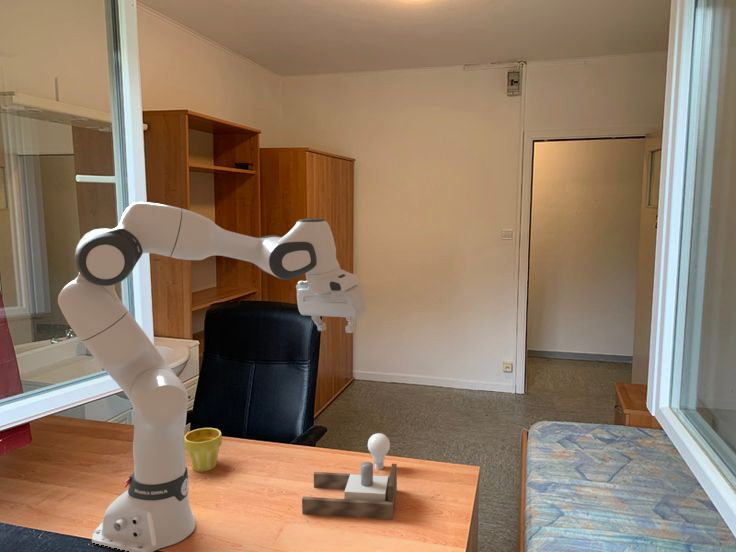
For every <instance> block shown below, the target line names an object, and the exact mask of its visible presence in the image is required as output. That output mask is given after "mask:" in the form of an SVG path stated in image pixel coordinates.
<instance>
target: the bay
mask: <svg viewBox="0 0 736 552" xmlns="http://www.w3.org/2000/svg"><path fill="white" fill-rule="evenodd" d="M397 466H398V465H397V463H391V468H390V472H389V473H390V474H389V475H387V476H388V500H387V502H386V501H369V500H353V499H345V498H335V497H333V498H332V497H316V496H315V497H314V496H302V498H301V504H302V505H301V507H302V508H301V510H302V511H301V512H302V515H313V516H325V517H326V516H327V517H341V518H358V519H359V518H360V519H361V518H362V519H373V520H374V519H375V520H376V519H377V520H378V519H379V520H391V521H392V520H393V519H394V514H395V513H394V512H395V506H396V499H397V491H398V476H397V469H398V468H397ZM350 474H351V473H346V472H345V473H343V472H342V473H341V472H325V471H314V472H313V488H314V489H315V488H316V489H331V490H332V489H333V490H345V488H346V485H347V482H348V479H349V476H350ZM358 474H359V475H361V473H358ZM377 475H378V474H377ZM378 476H384V475H380V474H379V475H378Z"/></svg>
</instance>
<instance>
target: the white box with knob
mask: <svg viewBox="0 0 736 552" xmlns="http://www.w3.org/2000/svg"><path fill="white" fill-rule="evenodd" d="M349 474H350V476H349V479H348V482H347V485H346V488H345V489H344V499H353V500H369V501H386V502H388V476H389V475H383V476H378V474H374V463H372V462H370V461H364V462H362V463H360V473H349ZM359 474H361V475H359Z"/></svg>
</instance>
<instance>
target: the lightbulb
mask: <svg viewBox="0 0 736 552" xmlns="http://www.w3.org/2000/svg"><path fill="white" fill-rule="evenodd" d="M390 447H391V442H390V439H389V438H388V436H386V434H384V433H380V432H378V433H374V434H372V435H371V436H370V437H369V438H368V441H367V449H368V452H369V453H370V454H371V456H372V461H373V470H377V471H380V470H383V469H384V461H385V457H386V455H388V452H389V451H390V449H391V448H390Z"/></svg>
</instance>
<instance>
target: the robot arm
mask: <svg viewBox="0 0 736 552" xmlns="http://www.w3.org/2000/svg"><path fill="white" fill-rule="evenodd" d="M334 239H335V238H334V235H333V232H332V229H331V227H330V224H329V222H328V221H326V220H324V219H322V218H318V217H317V218H313V217H312V218H311V217H310V218H301V219H299V220H297V221H296V222H295V225H294V226H293V227H292V228H291V229H290V230H289V231H288V232H287V233H286V234H284V235H283V236H280V235H275V234H271V235H265V236H258V237H256V236H250V235H246V234H242V233H238V232H234V231H230V230H228V229H227V230H226V229H224V228H222V227H221V226H219V225H218V224H216V223H215V222H214V221H213V220H211V218H208V217H206V216H203V215H202V214H199V213H197V212H194V211H191V210H188V209H185V208H181V207H177V206H172V205H167V204H161V203H156V202H143V201H137V202H132V203H131V204H130V205H129V206H127V207H126V208H125V210H124V212H123V213H122V216H121V219H120V221H119V223H118V224H117V226H116V227H115V228H109V227H98V228H94V229H91V230H90V231H88V232H86V233H84V235H83V236H81V238H80V239H79V240H78V243H77V244H76V247H75V250H74V259H75V266H76V269H77V272H78V275H77V276H76V277H75V278H74V279H73V280H71V281H70V282H68V283H67V284H66V285H65V286H64V287H63V288H62V289H61V291H60V292H59V294H58V297H57V305H58V306H59V309H60V311H61V313H62V314H63V316H64V318H65V321H66V322H67V324H68V325H69V327H70V328H71V330H72V331H73V333H74V334H75V335H76V336H77V338H78V339H79V341H80V342H81V343H82V344H83V346H84V347H85V348H86V349H87V350H88V352H89V353H90V354H91V355H92V357H93V358H94V359H95V361H96V362H97V363H98V365H99V366H100V367H101V368H102V369H103V371H105V372H106V373H107V375H109V377H110V378H111V379H112V381H114V382H115V383H116V385H118V387H119V388H120V389H121V390H122V391H123V393H125V396H126V397H127V398H128V400H129V401H130V403H131V406H132V410H133V440H132V441H133V442H132V454H133V455H132V456H133V468H134V469H133V471H134V473H132V474H130V475H129V477H128V479H127V480H126V481H124V483H123V484H124V486H123V488H124V489H125V488H126V487H128V489H127V490H125V491H123V493H121V494H120V495H119V496H118V497H117V498H115V499H114V500H113V501H112V502H111V503H110V504H109V505H108V507H107V509H106V510H105V512H104V515H103V518H102V522H101V523H100V524H99V525H98V526H97V527H96V528H95V530H94V532H93V534H92V536H91V543H92V544H93V543H95V544H94V545H96V544H99V545H98V546H101V545H104V546H103V547H105V546H108V547H107V548H109V547H111V548H110V549H114V548H117V549H116V550H118V549H120V550H119V551H122V550H125V551H124V552H127V551H129V552H155V551H157V550H160V549H163V548H166V547H170V546H172V545H176V544H177V543H180V542H181V541H184V540H185V539H186V538H188V537H189V536H191V534H192V533H193V532H194V530H195V528H196V526H197V525H196V520H195V518H194V514H193V512H192V509H191V503H190V499H189V487H190V485H189V483H190V482H189V470H188V467H187V466H186V449H185V444H184V437H185V435H186V434H185V432H186V424H187V423H186V422H187V415H188V414H187V412H188V407H189V400H188V399H189V397H188V392H187V389H186V387H185V385H184V383H183V382H182V380H180V378H179V377H178V376H177V374H176V373H175V372H174V371H173V370H172V368H171V367H170V366H169V364H168V363H167V361H166V360H165V359H164V357H163V356H162V354H161V353H160V351H158V349H157V347H155V345H154V344H153V342H152V341H151V339H150V337H148V335H147V334H146V332H145V331H144V330H143V328H142V327H141V326H140V324H139V323H138V322H137V320H136V319H135V318H134V316H133V315H132V314H131V313H130V311H129V309H128V308H127V307H126V306H125V304H124V303H123V302H122V301H121V299H120V298H119V296H118V294H117V291H116V288H115V285H118V284H119V283H122V282H123V281H124V280H126V279H127V278H128V277H129V275H130V274H131V273H132V272H133V270H134V268H135V266H136V265H137V263H138V262H139V260H140V258H141V257H142V255H144V254H153V255H154V254H156V255H160V256H163V257H164V256H165V257H168V258H173V259H179V260H187V261H188V260H189V261H202V260H205V259H207V258H209V257H212V256H219V257H220V256H222V257H226V258H231V259H235V260H240V261H245V262H248V263H251V264H253V265H255V267H257V268H258V269H260V270H261V271H262V272H263V273H266V274H270V275H271V276H274V277H275V278H278V279H281V280H285V281H286V280H293V279H297V278H298V277H301V276H303V275H305V278H306V280H298V282H297V283H296V285H295V289H296V300H297V301H296V302H297V308H298V312H299V313H300V315H301V316H309V317H310V316H311V320H312V321H313V323H314V324H315V325H316V327H317V331H318V332H324V331H326V330H327V326H326V323H325V322H323V321H322V319H321V317H331V318H332V317H333V318H345V321H346V322H347V325H345V327H344V329H345V333H346V334H353V333H354V332H355V326H354V325H355V323H356V319H358V318H360V317H361V316H363V315H365V313H366V311H367V305H366V300H365V295H364V292H363V290H362V288H361V287H360V286H359V284H360V279H359V276H358V275H357V274H355V273H352V272H349V271H347V270H344V269H342V268H341V267H340V264H339V261H338V259H337V247H336V243H335V240H334Z"/></svg>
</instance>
